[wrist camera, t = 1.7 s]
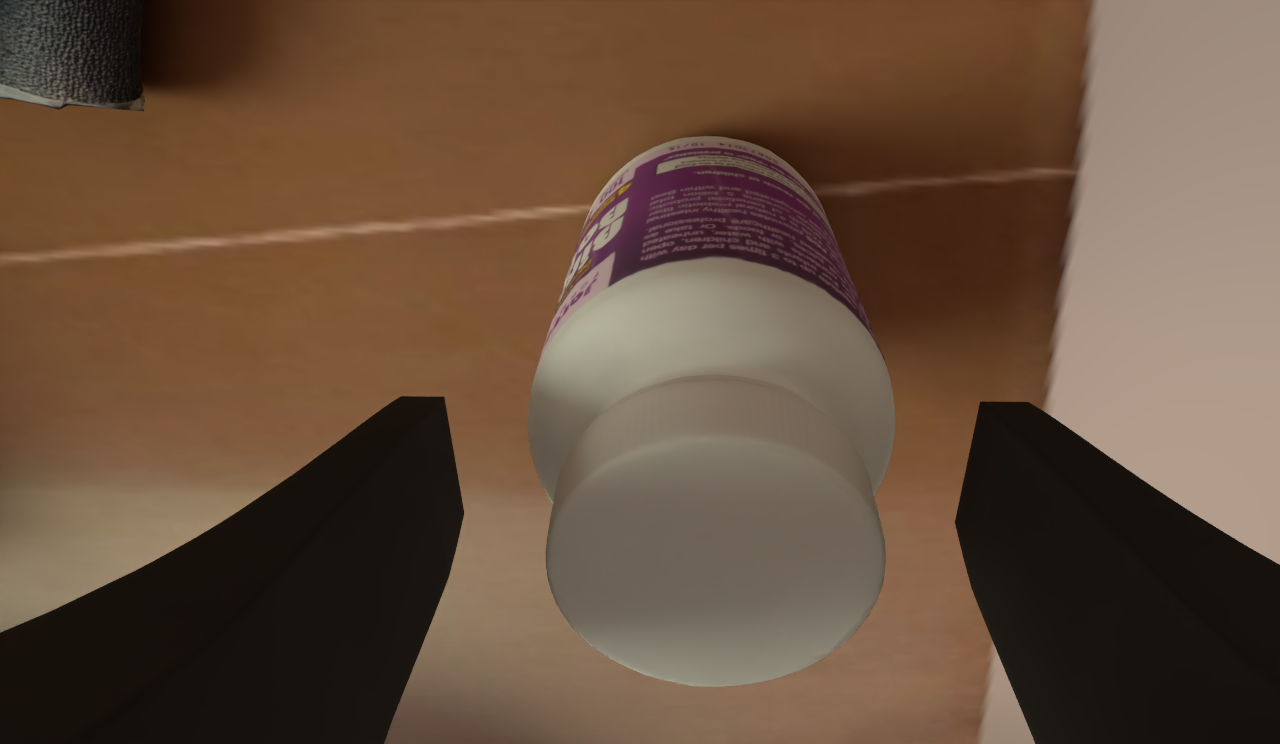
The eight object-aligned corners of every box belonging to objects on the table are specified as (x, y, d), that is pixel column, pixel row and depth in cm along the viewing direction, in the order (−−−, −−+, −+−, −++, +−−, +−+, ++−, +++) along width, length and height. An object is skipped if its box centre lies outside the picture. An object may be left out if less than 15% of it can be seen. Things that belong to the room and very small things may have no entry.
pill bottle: (575, 125, 17) (460, 366, 8) (843, 131, 16) (1001, 383, 8) (582, 360, 19) (501, 718, 11) (812, 368, 19) (907, 738, 11)
